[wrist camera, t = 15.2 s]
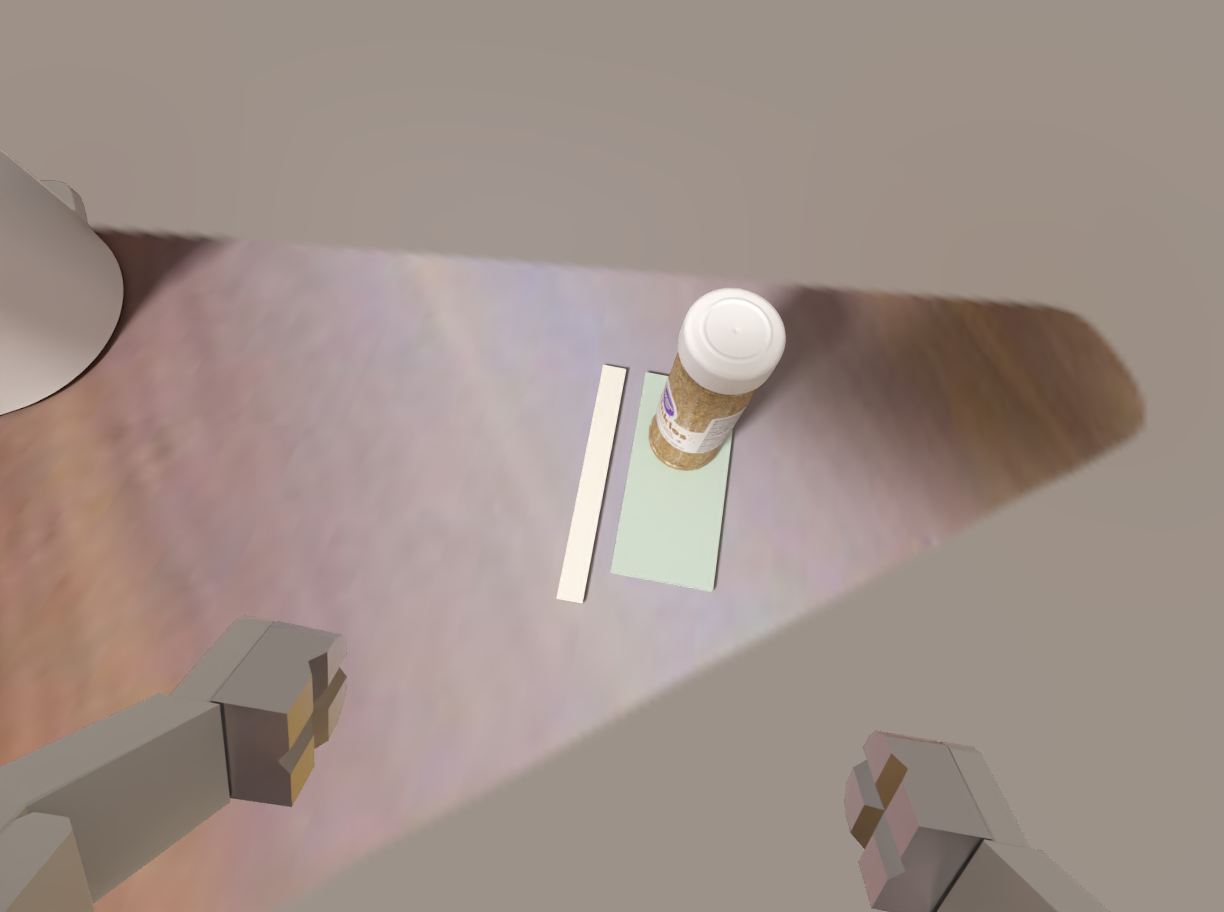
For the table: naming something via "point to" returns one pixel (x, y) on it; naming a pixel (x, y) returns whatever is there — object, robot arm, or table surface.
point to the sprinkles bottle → (714, 374)
